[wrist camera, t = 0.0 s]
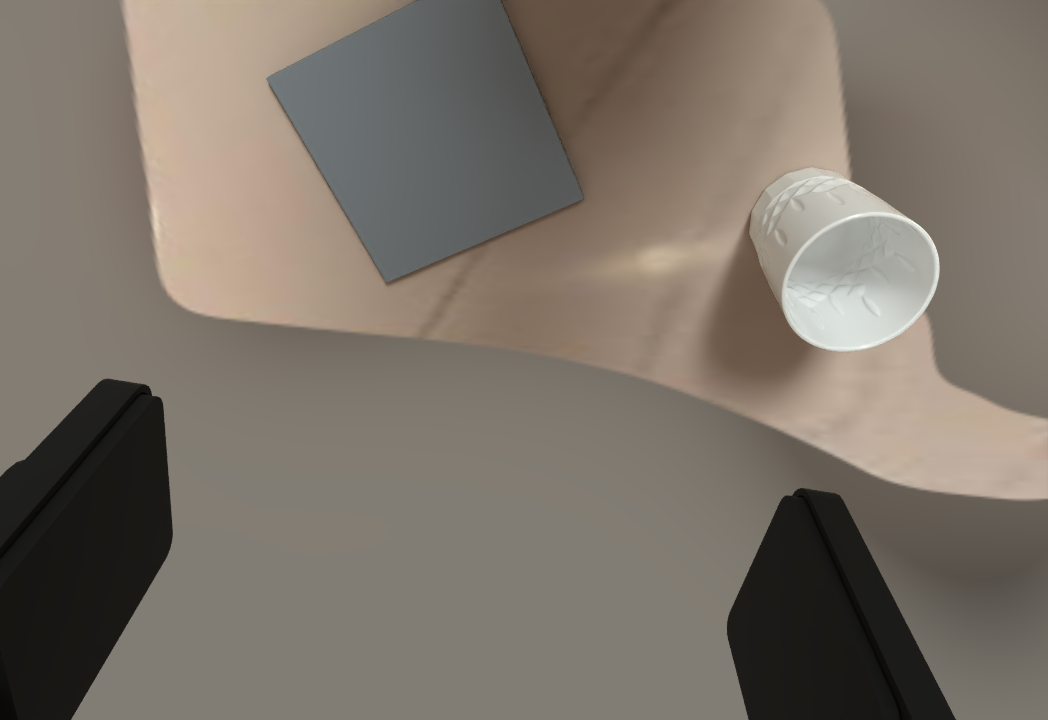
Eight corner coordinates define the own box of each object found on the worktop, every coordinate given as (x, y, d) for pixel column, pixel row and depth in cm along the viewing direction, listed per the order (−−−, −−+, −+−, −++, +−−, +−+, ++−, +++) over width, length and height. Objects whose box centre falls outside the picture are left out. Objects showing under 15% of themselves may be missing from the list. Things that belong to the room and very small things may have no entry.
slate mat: (269, 76, 44) (266, 78, 44) (486, -36, 41) (485, -35, 40) (387, 278, 50) (386, 282, 50) (583, 195, 47) (584, 198, 47)
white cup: (781, 299, 51) (830, 377, 42) (714, 212, 48) (752, 278, 39) (890, 225, 48) (966, 293, 39) (826, 129, 45) (893, 180, 36)
